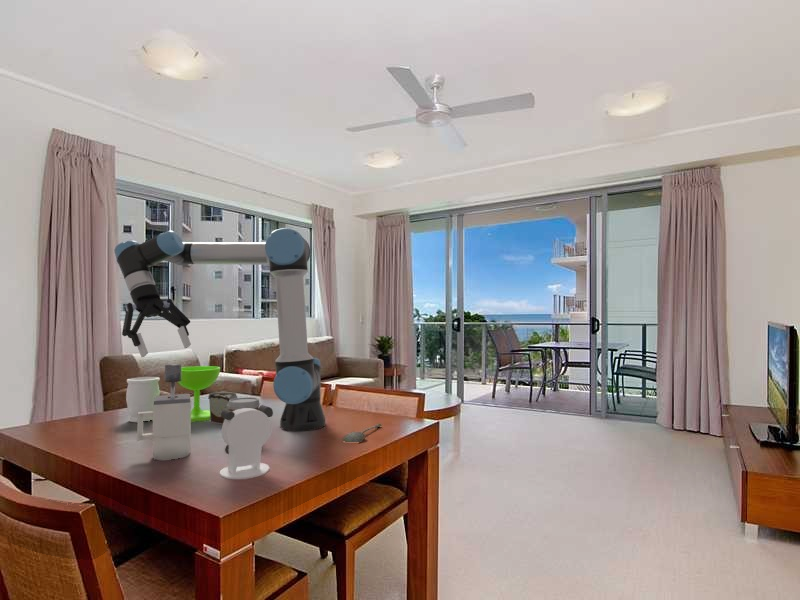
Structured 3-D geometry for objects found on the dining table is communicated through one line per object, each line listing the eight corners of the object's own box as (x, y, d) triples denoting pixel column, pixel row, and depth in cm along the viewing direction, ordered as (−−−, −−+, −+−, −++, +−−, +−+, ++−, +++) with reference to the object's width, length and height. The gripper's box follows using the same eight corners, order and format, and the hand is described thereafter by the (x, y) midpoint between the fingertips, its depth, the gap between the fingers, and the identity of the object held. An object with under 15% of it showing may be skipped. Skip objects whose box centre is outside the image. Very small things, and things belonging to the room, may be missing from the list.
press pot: (189, 448, 131) (190, 393, 132) (190, 457, 123) (191, 398, 123) (138, 454, 126) (139, 396, 126) (135, 464, 117) (136, 402, 118)
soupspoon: (338, 446, 138) (357, 449, 135) (338, 434, 138) (358, 438, 135) (371, 427, 158) (388, 429, 156) (371, 417, 158) (389, 419, 156)
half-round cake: (245, 422, 164) (245, 393, 164) (230, 425, 159) (230, 396, 159) (222, 418, 170) (223, 390, 171) (207, 421, 165) (208, 393, 166)
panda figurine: (259, 460, 121) (260, 402, 121) (280, 471, 112) (280, 408, 113) (212, 470, 113) (213, 408, 113) (230, 482, 104) (231, 415, 105)
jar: (165, 417, 172) (165, 376, 172) (147, 423, 161) (148, 380, 162) (138, 416, 173) (139, 376, 173) (118, 423, 162) (119, 380, 163)
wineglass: (164, 417, 171) (165, 368, 172) (206, 411, 183) (207, 365, 184) (185, 424, 161) (186, 372, 161) (227, 416, 173) (228, 368, 174)
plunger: (180, 426, 128) (181, 363, 128) (180, 429, 124) (181, 365, 125) (164, 428, 126) (165, 364, 127) (163, 431, 123) (164, 365, 123)
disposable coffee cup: (266, 437, 144) (266, 398, 144) (246, 445, 135) (246, 403, 135) (240, 434, 147) (241, 396, 147) (219, 442, 138) (220, 401, 138)
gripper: (174, 290, 156) (198, 347, 152) (94, 298, 135) (119, 364, 131) (185, 280, 152) (209, 338, 148) (104, 286, 131) (130, 354, 127)
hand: (167, 350), depth 140 cm, fingers open, 13 cm apart
